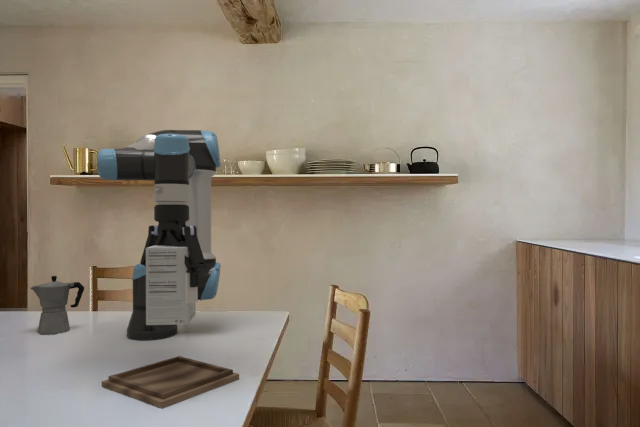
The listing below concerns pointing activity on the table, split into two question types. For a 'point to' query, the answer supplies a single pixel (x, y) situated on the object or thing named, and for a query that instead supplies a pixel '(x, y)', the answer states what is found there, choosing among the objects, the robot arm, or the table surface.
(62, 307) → the coffeepot
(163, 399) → the walnut tray
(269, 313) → the table surface
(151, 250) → the supplement box
